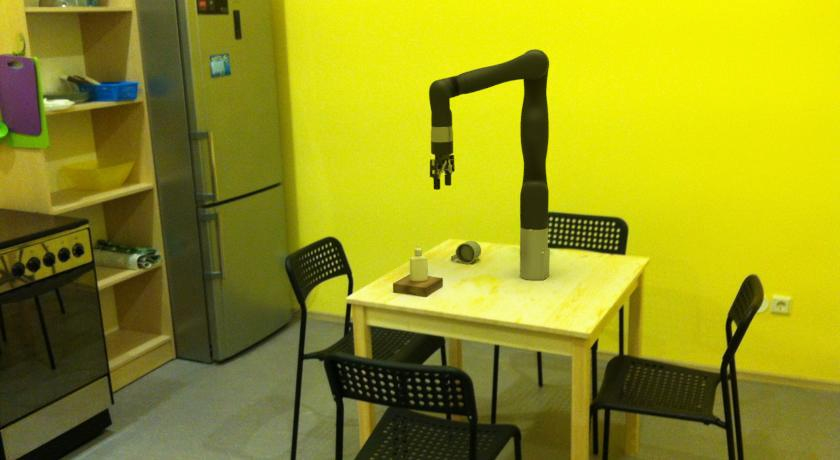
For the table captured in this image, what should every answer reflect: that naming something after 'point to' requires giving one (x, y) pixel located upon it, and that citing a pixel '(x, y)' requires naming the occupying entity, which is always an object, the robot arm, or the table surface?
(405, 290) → the walnut plinth
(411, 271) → the squeeze bottle
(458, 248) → the ceramic mug
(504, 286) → the table surface
